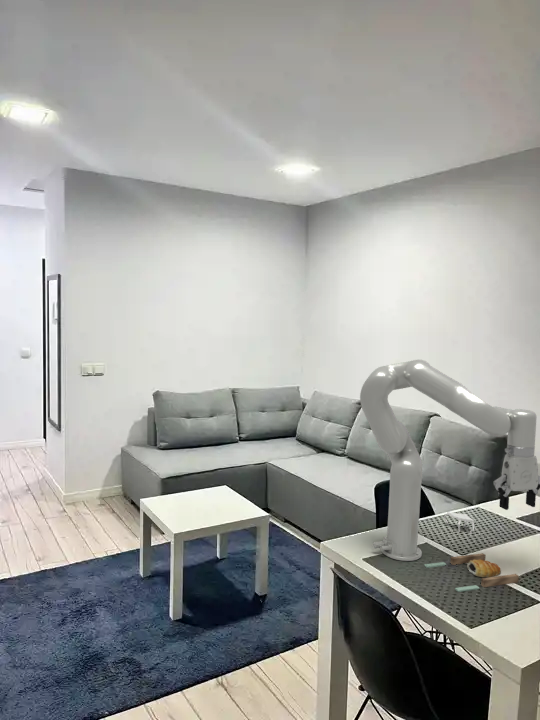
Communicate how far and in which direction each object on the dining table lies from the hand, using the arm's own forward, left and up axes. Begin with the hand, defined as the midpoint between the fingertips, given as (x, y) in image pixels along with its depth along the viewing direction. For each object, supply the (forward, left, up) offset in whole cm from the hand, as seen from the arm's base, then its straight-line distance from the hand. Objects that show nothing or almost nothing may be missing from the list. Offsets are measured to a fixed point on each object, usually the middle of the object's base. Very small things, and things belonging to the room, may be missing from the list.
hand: (517, 506), depth 170 cm
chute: (-10, 0, -20) cm, 22 cm away
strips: (-22, 0, -20) cm, 29 cm away
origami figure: (+5, +32, -20) cm, 38 cm away
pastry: (-10, +1, -20) cm, 23 cm away
